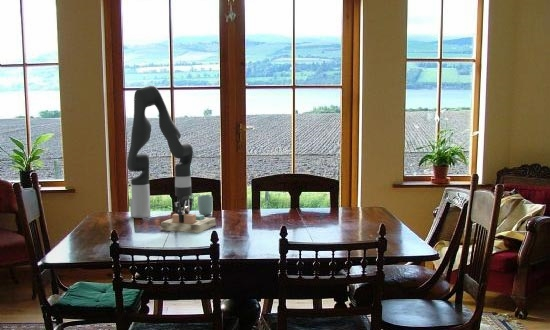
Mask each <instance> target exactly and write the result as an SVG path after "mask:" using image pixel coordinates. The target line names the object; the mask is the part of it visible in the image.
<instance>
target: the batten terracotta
mask: <svg viewBox="0 0 550 330" xmlns="http://www.w3.org/2000/svg"><path fill="white" fill-rule="evenodd" d="M172 218H173V223H179V215H178V214H176V213H174V214H172ZM194 223H196V213H189V214H184V223H182V224H194Z"/></svg>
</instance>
